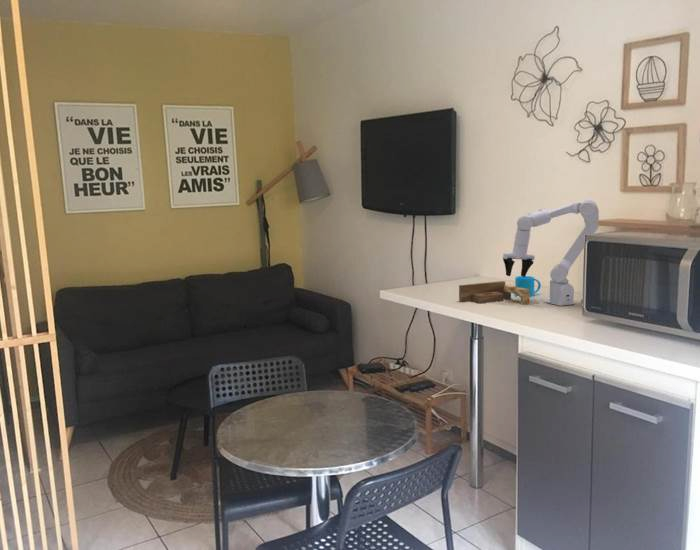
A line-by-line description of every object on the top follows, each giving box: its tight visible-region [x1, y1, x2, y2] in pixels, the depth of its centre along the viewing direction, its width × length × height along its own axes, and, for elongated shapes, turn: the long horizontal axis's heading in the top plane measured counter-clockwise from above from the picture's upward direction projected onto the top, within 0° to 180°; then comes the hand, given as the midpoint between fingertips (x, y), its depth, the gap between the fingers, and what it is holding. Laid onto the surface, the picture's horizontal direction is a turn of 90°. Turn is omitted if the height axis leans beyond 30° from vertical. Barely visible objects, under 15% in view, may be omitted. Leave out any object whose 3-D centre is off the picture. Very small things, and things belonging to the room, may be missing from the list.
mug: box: [514, 275, 542, 298], centre depth 280 cm, size 12×8×8 cm
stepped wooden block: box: [458, 280, 506, 304], centre depth 270 cm, size 8×22×7 cm, turn 112°
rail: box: [504, 284, 531, 306], centre depth 267 cm, size 14×3×6 cm, turn 21°
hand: (515, 275), depth 268 cm, fingers open, 7 cm apart
